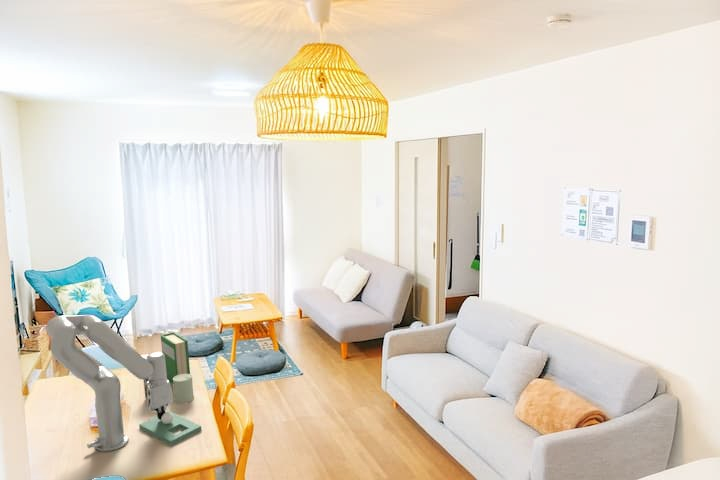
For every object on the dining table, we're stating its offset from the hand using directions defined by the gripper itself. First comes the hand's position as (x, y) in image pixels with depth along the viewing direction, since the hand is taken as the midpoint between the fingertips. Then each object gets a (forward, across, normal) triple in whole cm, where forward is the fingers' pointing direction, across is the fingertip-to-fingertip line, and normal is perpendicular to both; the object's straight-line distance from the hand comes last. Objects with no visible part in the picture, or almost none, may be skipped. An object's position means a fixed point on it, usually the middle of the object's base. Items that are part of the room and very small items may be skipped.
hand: (161, 418), depth 238 cm
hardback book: (+3, +33, +35) cm, 48 cm away
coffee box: (+3, +14, +26) cm, 30 cm away
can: (+3, +21, +13) cm, 25 cm away
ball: (-2, 0, -4) cm, 5 cm away
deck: (+3, 0, -6) cm, 7 cm away
